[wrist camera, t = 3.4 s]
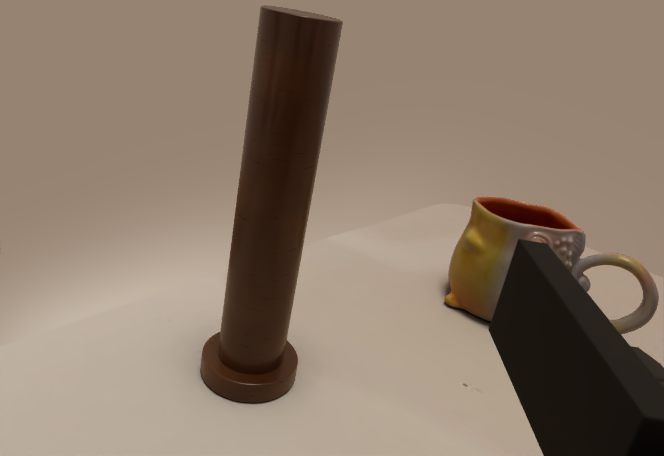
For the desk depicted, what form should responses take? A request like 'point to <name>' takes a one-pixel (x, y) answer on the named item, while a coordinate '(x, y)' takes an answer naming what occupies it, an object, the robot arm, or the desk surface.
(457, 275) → the mug
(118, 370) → the desk surface
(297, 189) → the brown cylinder rod
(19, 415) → the desk surface
